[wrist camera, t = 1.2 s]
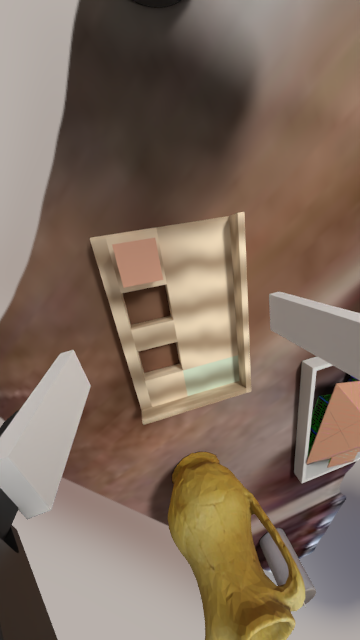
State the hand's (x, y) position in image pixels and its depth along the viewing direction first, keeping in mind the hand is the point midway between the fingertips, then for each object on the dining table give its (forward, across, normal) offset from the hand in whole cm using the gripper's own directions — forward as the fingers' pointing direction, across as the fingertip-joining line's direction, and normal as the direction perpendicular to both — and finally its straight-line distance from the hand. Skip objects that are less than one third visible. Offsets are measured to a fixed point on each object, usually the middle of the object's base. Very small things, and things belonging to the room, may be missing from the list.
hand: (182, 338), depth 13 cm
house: (+21, +43, -46) cm, 66 cm away
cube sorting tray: (+21, +3, -7) cm, 22 cm away
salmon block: (+18, -1, +4) cm, 19 cm away
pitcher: (+21, 0, -48) cm, 52 cm away
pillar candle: (+21, +18, -96) cm, 100 cm away
